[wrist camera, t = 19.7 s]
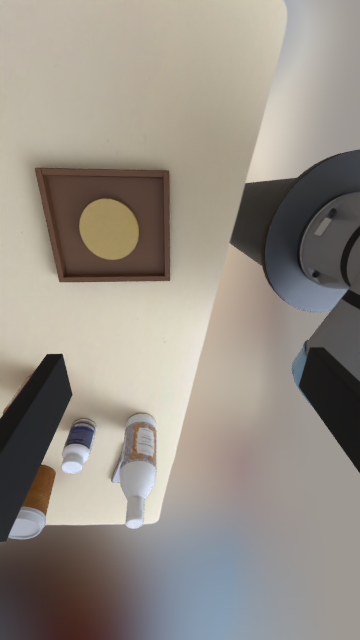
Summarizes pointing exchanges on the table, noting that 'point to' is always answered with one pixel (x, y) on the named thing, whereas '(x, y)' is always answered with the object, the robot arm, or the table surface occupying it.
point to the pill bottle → (78, 445)
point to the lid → (109, 228)
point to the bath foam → (138, 465)
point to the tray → (93, 184)
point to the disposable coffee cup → (34, 506)
